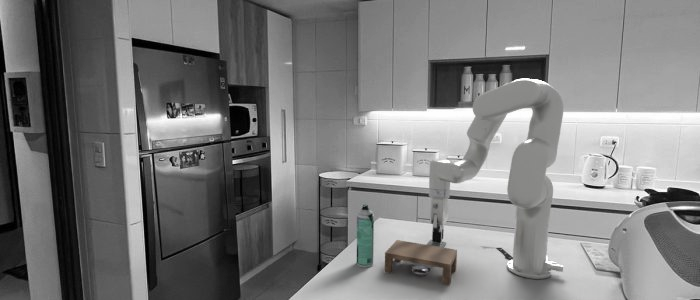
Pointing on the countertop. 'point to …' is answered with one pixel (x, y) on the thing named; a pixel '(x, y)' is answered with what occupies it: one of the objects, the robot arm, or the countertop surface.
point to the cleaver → (502, 253)
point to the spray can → (365, 237)
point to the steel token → (419, 270)
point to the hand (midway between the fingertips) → (437, 239)
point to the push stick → (432, 245)
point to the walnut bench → (422, 257)
